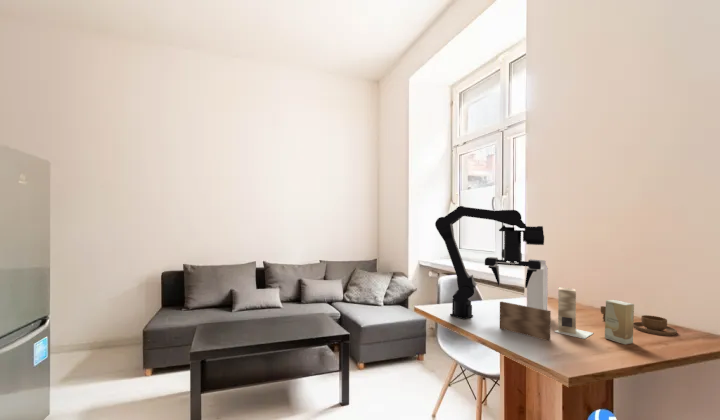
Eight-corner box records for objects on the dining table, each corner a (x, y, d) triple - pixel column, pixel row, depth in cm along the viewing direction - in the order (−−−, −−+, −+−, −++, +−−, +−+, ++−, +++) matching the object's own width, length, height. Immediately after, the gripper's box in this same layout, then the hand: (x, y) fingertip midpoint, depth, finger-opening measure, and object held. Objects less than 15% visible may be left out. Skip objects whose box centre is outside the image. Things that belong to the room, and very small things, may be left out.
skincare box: (604, 338, 114) (604, 300, 114) (612, 336, 115) (612, 299, 116) (625, 345, 108) (625, 304, 108) (634, 343, 109) (634, 303, 110)
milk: (543, 318, 136) (543, 261, 136) (526, 315, 140) (526, 259, 140) (547, 315, 140) (548, 259, 141) (531, 312, 144) (531, 258, 145)
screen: (499, 328, 122) (499, 302, 122) (501, 327, 123) (501, 301, 123) (548, 340, 110) (548, 311, 110) (550, 340, 111) (550, 311, 111)
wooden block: (558, 331, 119) (558, 289, 120) (558, 327, 124) (558, 287, 124) (575, 333, 117) (575, 291, 117) (574, 329, 121) (575, 288, 122)
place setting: (653, 339, 115) (653, 321, 116) (597, 322, 135) (597, 306, 135) (691, 335, 120) (691, 318, 121) (631, 319, 140) (631, 304, 140)
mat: (554, 331, 119) (554, 331, 119) (564, 327, 125) (564, 326, 125) (584, 339, 113) (584, 338, 113) (593, 333, 118) (593, 332, 119)
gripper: (541, 244, 134) (541, 285, 133) (489, 241, 143) (489, 280, 142) (540, 245, 124) (540, 290, 123) (484, 243, 133) (484, 285, 132)
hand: (512, 286), depth 131 cm, fingers open, 9 cm apart
